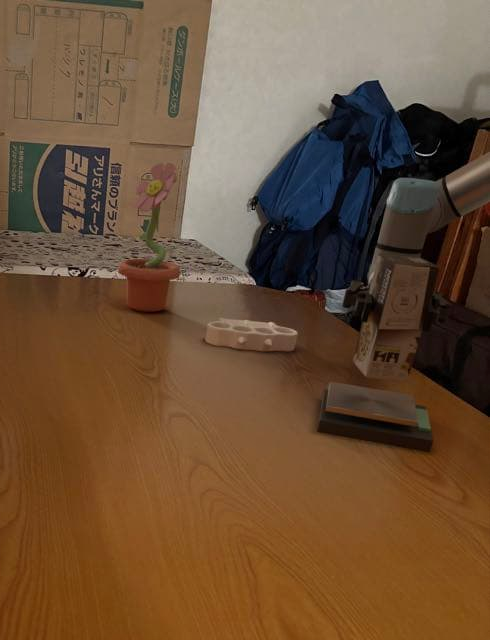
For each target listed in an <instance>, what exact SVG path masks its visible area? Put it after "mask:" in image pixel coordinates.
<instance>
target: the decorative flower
mask: <svg viewBox="0 0 490 640" xmlns="http://www.w3.org/2000/svg"><path fill="white" fill-rule="evenodd" d="M176 169H177V167H176V165H175V164H174V163H172V162H167V163H165V165H164V162H159V163H157V164H155V165H153V166H152V168H150V174H151V177H152V181H151V182H150V181H146V180H141V181H140V182H139V183H138V184H137V187H136V188H135V194H136V195H140V194H141V195H140V196H138V197H136V198H135V199H134V200H133V207H134V208H136V209H139V211H140V212H143V213H147V212H149V211H150V210H151V214H150V215H151V216H150V219H149V222H148V225H147V227H146V228H147V229H146V231H145V232H143V233H142V234H141V235H140V236H139V241H143V240H144V241H145V245H146V247H147V248H148V249H150V250H151V251H152V252H154V253H156V254H157V255H156V256H155V257H153V258H129V259H125V260H122V261H120V262H119V263H118V265H117V273H118V274H120V275H122V276H123V277H126V305H127V307H128V308H129V309H131V310H133V311H137V312H138V311H139V312H145V313H154V312H160V311H162V310H164V308H165V306H166V303H167V298H168V292H169V287H170V282H171V281H173V280H176V279H179V278H180V276H181V270H180V267H179V265H177V264H175V263H173V262H170V261H167V260H164V259H165V258H166V256H167V252H172V251H175V250H177V249H178V248H179V246H174V247H171V248H167V249H166V248H165V247H164V246H162V245H161V244H159V243H157V242H156V241H154V234H155V232H157V233H159V223H160V222H159V220H160V213H161V205H162V202H163V201H165V200H166V199H167V197H168V196H169V193H170V190H171V189H172V188H173V185H174V184H175V183H177V182H178V176H177V173H176V172H175V171H176Z"/></svg>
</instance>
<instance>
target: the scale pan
mask: <svg viewBox="0 0 490 640" xmlns="http://www.w3.org/2000/svg"><path fill="white" fill-rule="evenodd" d="M327 390H328V396H327V403H326V411H329V412H334V413H340V414H346V415H352V416H357V417H363V418H369V419H374V420H380V421H386V422H392V423H397V424H403V425H409V426H414V427H417V424H418V418H417V413H416V407H415V405H416V402H415V397H414V395H413V394H408V393H402V392H395V391H391V390H390V391H389V390H383V389H377V388H371V387H367V386H366V387H365V386H359V385H355V384H354V385H353V384H347V383H341V382H335V381H329V383H328V389H327Z"/></svg>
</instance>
